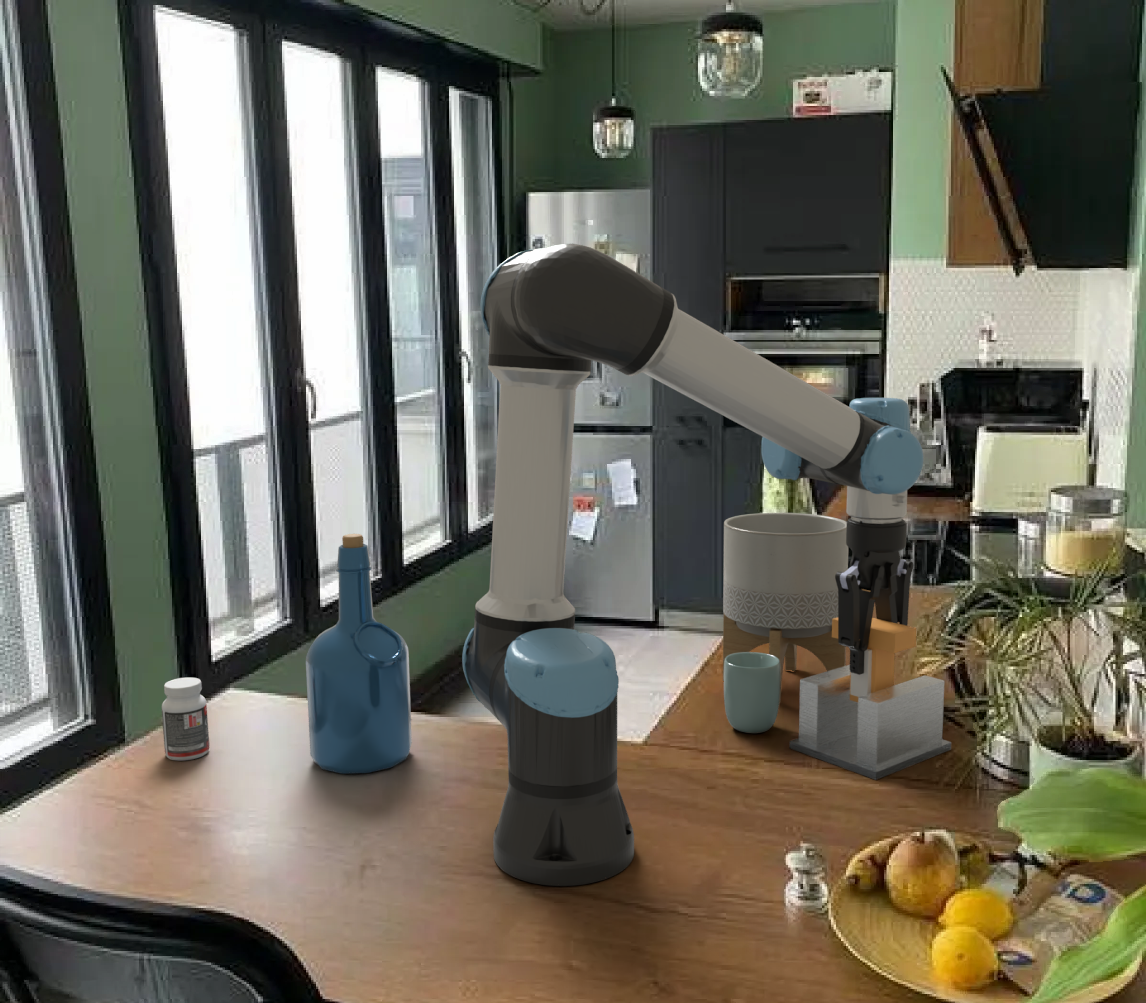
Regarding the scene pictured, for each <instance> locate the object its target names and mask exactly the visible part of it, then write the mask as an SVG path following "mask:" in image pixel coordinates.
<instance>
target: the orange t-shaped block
mask: <svg viewBox="0 0 1146 1003" xmlns="http://www.w3.org/2000/svg"><path fill="white" fill-rule="evenodd" d="M832 637H833V638H837V639H838V618H834V619H832ZM859 640H860V639H859ZM916 647H917V627H914V626H910V625H907V626H906V625H902V624H899V623H898V624H897V623H893V622H888V621H884V620H880V619H877V618H876V617H872V623H871V629H870V636H869V642H868V648H867V649H870V650H872V671H871V693H873V692H876V691H879V690H882V689H885V688H888V687H891V686H894V685H895V666H896V665H895V663H896V654H897V653H900V652H904V651H906V650H907V651H908V650H910V649H914V648H916ZM850 689H851V672H850ZM850 700H852V701H855V702H858V697H857V696H854V695H851V694H850Z"/></svg>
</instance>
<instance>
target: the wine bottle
mask: <svg viewBox="0 0 1146 1003" xmlns="http://www.w3.org/2000/svg"><path fill="white" fill-rule="evenodd" d="M341 542H342V544H341V545H339V546H338V551H337V552H338V553H337V565H336V566H337V567H336V572H337V573H338V620H337V622H336V624H335V625H333V626H331V627H329V628H327V629H325V630H324V631H322V632H321V633H319V634H318V636H316V637H315V639H314V641H313V642H312V644H310V647H309V648H308V651H307V653H306V655H305V671H306V674H305V675H306V689H307V690H306V694H307V716H308V731H309V732H308V733H309V734H308V735H309V736H308V738H309V753H310V755H309V756H310V757H311V759H312V760H313V763H315V764H316V765H317V766H318V767H319V768H320V769H322V770H325V771H329V772H334V773H339V774H344V775H345V774H369V773H372V772H377V771H381V770H382V771H383V770H387V769H390V768H394V767H395V766H397V765H399V764H400V763H402V762H403V761H406V760H407V758H408V755H409V753H410V751H411V747H412V743H413V742H412V740H413V739H412V714H411V713H412V712H411V686H410V684H411V682H410V681H411V680H410V658H409V656H410V655H409V647H408V645H407V642H406V640H405V639H404V638H403V636H402V635H401V634H399V633H398V632H397V631H395V630H394V629H393V628H390V627H389V626H387V625H385V624H384V623H381V622H378V621H377V620H376V619H375V617H374V609H373V597H372V585H371V570H372V568H373V567H372V566H371V558H370V553H369V547H368V545H367V544H365V543H364V537H363V535H362V534H361V533H347V534H345V535H343V536H342V540H341Z"/></svg>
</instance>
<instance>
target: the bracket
mask: <svg viewBox="0 0 1146 1003" xmlns="http://www.w3.org/2000/svg"><path fill="white" fill-rule="evenodd" d="M944 697H945V679H944V680H943V679H940V678H936V677H933V676H929V675H922V676H919V677H916V678H913V679H910V680H907V681H903V682H901V683H898V684H894V686H891V687H888V688H885V689H882V690H879V691H876V692H873V693H870V694H867V695H864V696H861V697H858V702H855V701H852V700H850V664H848V665H846V666H843V667H840V668H837V669H833V670H830V671H827V670H826V671H823V672H821V673H817V674H814V675H810V676H807V677H804V678H800V680H799V715H798V716H799V718H798V719H799V720H798V724H799V725H798V738H794V739H791V740H789V746H788V747H789V749H790V750H794V751H797V752H799V753H802V754H804V755H807V756H810V757H813V758H815V759H818V760H820V761H824V762H826V763H828V764H830V765H833V766H836V767H840V768H842V769H845V770H848V771H850V772H852V773H853V772H854V773H856V774H858V775H861V776H863V777H864V776H865V777H867V778H870V779H872V780H875V781H878V780H880V779H882V778H884V777H887V776H889V775H892V774H895V773H896V772H899V771H901V770H904V769H907V768H909V767H911V766H914V765H917V764H919V763H921V762H924V761H926V760H929V759H931V758H933V757H936V756H938V755H941V754H944V753H945V752H948V751H951V750H952V742H951V741H949V740H946V739H943V730H944V729H943V728H944V726H943V724H944V702H945V701H944V700H945V698H944Z"/></svg>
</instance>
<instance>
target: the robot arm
mask: <svg viewBox="0 0 1146 1003" xmlns="http://www.w3.org/2000/svg"><path fill="white" fill-rule="evenodd" d="M481 292H482V293H481V296H480V297H481V298H480V304H479V305H480V316H481V317H480V318H481V320H482V323H483V327H484V329H485V332H486V333H487V334H488V338H489V340H488V361H487V362H488V363H487V368H488V370H489V371H490V372H491V374H492V375H493V376H494V377H495V379H497V380H498V383H499V384H500V387H499V388H500V389H499V390H500V391H499V403H498V404H499V406H498V408H499V409H498V422H497V423H498V424H497V425H498V426H497V427H498V428H497V441H496V442H497V443H496V445H497V446H496V460H495V461H496V463H495V477H494V478H495V479H494V481H495V482H494V483H495V484H494V497H493V498H494V500H493V502H494V503H493V514H492V515H493V516H492V517H493V518H492V519H493V520H492V536H491V537H492V538H491V539H492V540H491V554H490V555H491V556H490V573H489V589H488V591H487V592H486V594H484V595H483V596H482V597H481V598H479V600H477V601H476V603H475V605H474V606H475V609H474V624H473V625H474V626H473V627H472V628H471V629H470V631H469V632H468V635H467V637H466V638H465V641H464V646H463V647H462V657H461V659H462V661H461V662H462V664H461V665H462V669H463V673H464V677H465V679H466V683H467V684H468V686H469V689H470V690H471V692H472V694H473V696H474V697H475V698H476V699H477V700H478V701H477V702H479V703H480V704H482V705H483V707H484V708H485V709H487V710H488V712H490V713H491V714H492V715H493V716H494V717H495V719H497V720H498V721H499V722H500V723H501V725H502V726H503V727H504V728H505V729H506V733H507V734H506V735H507V768H508V769H507V770H508V771H507V772H508V773H507V774H508V783H507V784H508V786H507V789H506V793H505V796H504V800H503V804H502V807H501V811H500V815H499V818H498V822H497V825H496V826H495V830H494V832H493V838H492V839H493V840H492V841H493V842H492V844H493V845H492V846H493V860H494V861H495V864H496V865H497V866H498V867H499V868H500V870H502V871H503V872H504V873H506V874H507V875H509V876H511V877H513V878H516V879H518V880H521V881H523V882H527V883H530V884H531V883H532V884H535V885H543V886H552V887H553V886H554V887H559V886H560V887H567V886H568V887H569V886H580V885H581V886H582V885H587V884H592V883H593V884H594V883H597V882H601V881H604V880H607V879H609V878H612V877H614V876H616V875H617V874H619V873H621V872H623V871H624V870H625V869H626V868H628V867H629V865H630V864H631V863H632V861H633V859H634V856H635V834H634V829H633V826H632V824H631V821H630V817H629V814H628V812H627V809H626V805H625V803H624V799H623V797H622V793H621V791H620V788H619V785H618V691H619V690H618V689H619V680H620V679H619V675H618V669H617V663H616V662H617V661H616V656H615V653H614V651H613V650H612V647H611V646H610V645H609V644H608V643H607V642H606V641H604V640H603V639H602V638H600V637H598V636H597V635H594V634H592V633H589V632H579V630H577V629H575V621H576V620H575V619H576V608H575V606H573V604H571V602H570V601H569V600H568V599H567V597H566V596H565V595H564V590H565V589H564V584H565V572H566V571H565V570H566V554H567V536H568V525H569V524H568V520H569V507H570V492H571V490H570V489H571V488H570V487H571V475H572V457H573V456H572V455H573V443H574V442H573V440H574V427H575V426H574V425H575V413H576V412H575V407H576V396H577V394H576V392H577V388H578V387H579V385H581V384H582V383H583V382H584V381H585V380H586V379H587V378H588V377H589V376H590V375H591V372H592V371H591V370H592V369H591V368H592V361H593V362H597V363H599V364H603V365H605V366H608V367H610V368H611V369H614V370H616V371H618V372H620V373H622V374H624V375H626V376H628V377H633V376H636V375H639V374H641V373H642V374H644V375H646V376H648V377H649V378H652V379H654V380H656V381H658V382H660V383H661V384H663V385H665V386H667V387H669V388H670V389H673V391H674V390H675V391H676V392H678V393H680V394H681V395H684V396H685V397H687V398H689V399H692V400H694V401H695V402H697V403H699V404H701V405H703V406H705V407H706V408H708V409H710V410H712V411H714V412H716V413H718V414H720V415H721V416H724V417H725V418H727V419H729V420H731V421H733V422H734V423H737V424H738V425H740V426H742V427H744V428H746V429H747V430H750V431H752V432H754V433H755V434H757V435H758V436H761V459H762V462H763V466H764V468H765V469H766V471H767V473H768V474H769V475H771V477H773V478H775V479H778V480H792V481H797V480H798V479H799V480H800V479H813V480H817V481H822V482H826V483H831V484H836V485H841V486H847V488H846V510H845V512H846V514H847V515H848V516H849V517H850V518H848V519H847V521H846V522H847V527H846V544H847V546H848V549H850V550H851V554H852V555H851V559H850V562H849V567H848V570H847V571H845V572H844V573H843V572H837V573H836V575H835V579H836V583H837V587H838V643H839V644H840V645H843V646H846V648H849V665H850V672H851V689H850V694H851V695H854V696H857V697H861V696H864V695H867V694H870V693H871V671H872V650H870V649H867V648H868V642H869V636H870V629H871V623H872V618H873V615H874V610H875V614H876V617H875V618H876V619H880V620H884V621H888V622H893V623H897V624H902V625H906V626H909V625H908V624H909V603H910V589H911V588H910V586H911V577H912V573H913V570H914V562H913V561H910V560H905V559H902V558H901V554H900V551H903V550H904V549H905V548H906V546H907V527H908V526H907V524H908V522H906V520H904V519H903V518H905V517H906V516H907V514H908V513H907V512H908V511H907V510H908V508H907V507H908V490H909V489H911V487H913V485H914V484H916V482H917V481H918V480H919V477H920V475H921V472H922V470H923V467H924V458H925V457H924V451H923V448H922V445H921V443H920V441H919V439H918V438H917V437H916V436H915V435H914V434H913V433H912V432H911V417H910V415H911V413H910V407H909V404H908V403H907V401H906V400H904V399H901V398H895V397H861V398H855V399H852V400H851V401H850V402H849V406H848V405H846V404H845V403H843V402H841V401H840V400H837V399H836V398H834V397H832V396H831V395H829V394H827V393H826V392H824V391H822V390H820V389H818V388H817V387H815V386H813V385H812V384H810V383H809V382H807V381H805V380H803V379H801V378H799V377H797V376H796V375H794V374H792V373H790V371H787V370H786V369H784V368H782V367H780V366H779V365H777V364H776V363H773V362H772V361H770V360H768V359H766V358H765V357H763V356H761V355H760V354H758V353H756V352H754V351H753V350H751V349H749V348H748V347H745V346H744V345H742V344H740V343H738V342H737V341H735V340H733V339H731V338H730V337H728V336H726V335H725V334H723V333H721V332H720V331H718V330H716V329H714V328H713V327H711V326H709V325H707V324H706V323H704V322H702V321H701V320H698V319H697V318H695V317H694V316H692V315H690V314H688V313H686V312H685V311H683V310H681V309H679V308H678V303H677V299H676V296H675V294H673V293H672V292H670V291H669V290H667V289H665V288H663V287H662V286H659V285H658V284H656V283H655V282H653V281H652V280H649V279H648V278H646V277H645V276H643V275H642V274H640V273H638V272H636V271H635V270H633V269H632V268H630V267H629V266H627V265H625V264H623V263H621V262H620V261H618V260H616V259H614V258H613V257H611V256H609V255H608V254H606V253H603V252H601V251H599V250H597V249H595V248H592V247H589V246H586V245H583V244H576V243H561V244H555V245H551V246H548V247H541V248H533V249H532V248H530V249H527V250H524V251H520V252H517V253H515V254H513V255H512V256H509V257H508V258H506V260H504V261H503V262H502V263H499V264H498V266H496V268H494V270H493V271H492V272H491V273H490V275H489V276H488V278H487V280H486V282H485V284H484V286H483V289H482V291H481ZM874 607H875V608H874ZM859 639H860V640H859Z"/></svg>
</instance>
